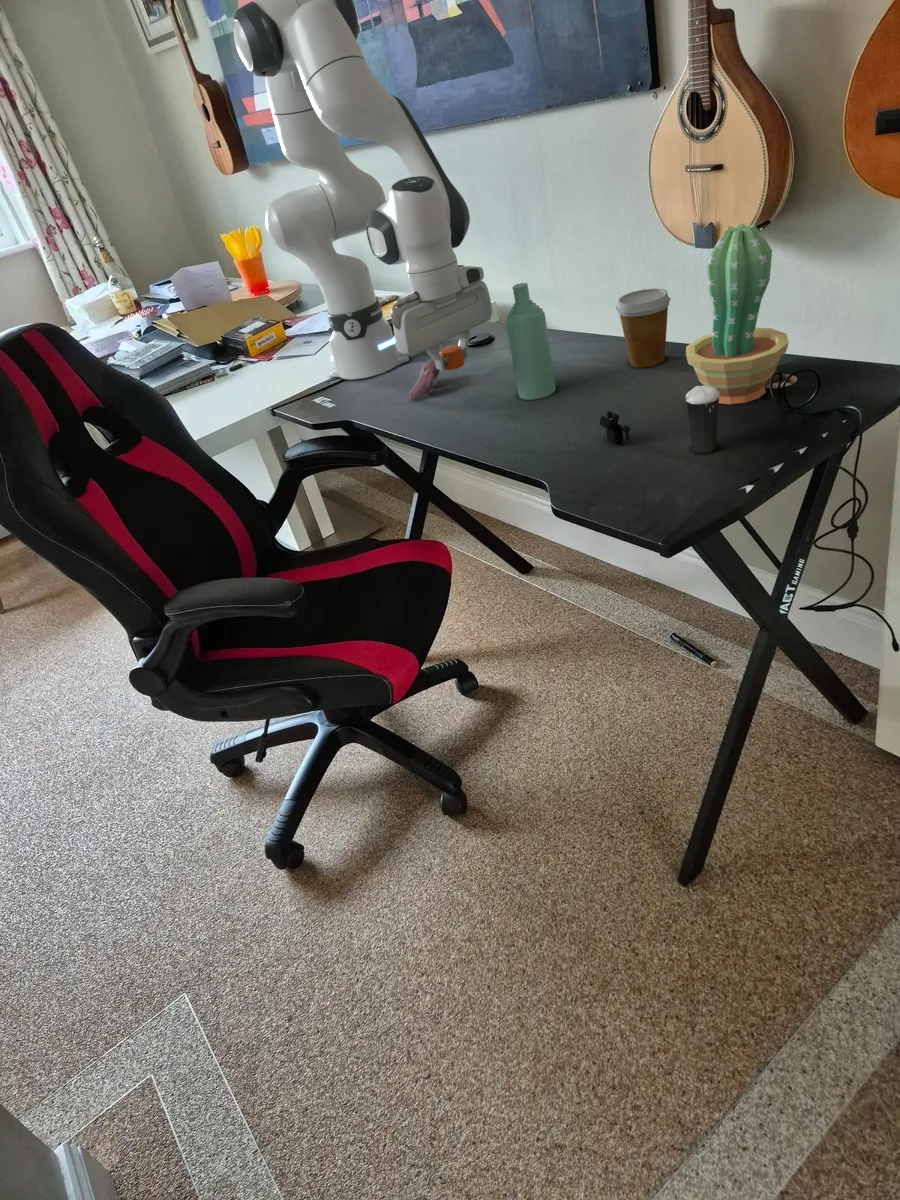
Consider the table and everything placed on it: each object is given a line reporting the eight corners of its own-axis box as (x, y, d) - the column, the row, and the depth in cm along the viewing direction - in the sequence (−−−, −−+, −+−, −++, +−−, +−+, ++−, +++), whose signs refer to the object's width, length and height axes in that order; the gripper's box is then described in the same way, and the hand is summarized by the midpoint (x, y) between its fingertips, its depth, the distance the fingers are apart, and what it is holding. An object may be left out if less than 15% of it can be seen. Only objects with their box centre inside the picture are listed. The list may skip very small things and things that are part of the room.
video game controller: (428, 407, 156) (436, 374, 151) (407, 400, 156) (414, 367, 151) (438, 388, 163) (446, 357, 159) (418, 381, 163) (425, 350, 159)
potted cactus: (809, 384, 123) (817, 213, 109) (739, 420, 118) (738, 246, 104) (733, 368, 134) (731, 212, 121) (666, 400, 129) (656, 241, 116)
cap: (467, 365, 139) (463, 348, 137) (446, 372, 138) (442, 354, 137) (460, 360, 142) (457, 343, 140) (440, 366, 141) (437, 350, 140)
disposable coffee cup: (680, 351, 146) (677, 286, 140) (663, 371, 140) (658, 303, 134) (632, 352, 151) (627, 289, 145) (613, 371, 145) (607, 306, 139)
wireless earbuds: (633, 446, 118) (631, 415, 116) (620, 452, 118) (617, 421, 115) (605, 435, 124) (602, 405, 121) (593, 440, 123) (589, 410, 120)
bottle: (513, 392, 148) (494, 287, 137) (547, 381, 149) (531, 276, 138) (526, 403, 142) (508, 294, 131) (561, 391, 143) (546, 282, 132)
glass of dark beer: (678, 447, 115) (674, 382, 109) (714, 438, 115) (712, 373, 109) (688, 459, 111) (685, 393, 106) (725, 450, 111) (724, 383, 105)
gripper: (399, 304, 125) (420, 386, 133) (489, 265, 135) (504, 344, 142) (377, 303, 130) (398, 382, 137) (466, 265, 139) (481, 341, 147)
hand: (453, 362), depth 140 cm, fingers closed on cap, 4 cm apart
